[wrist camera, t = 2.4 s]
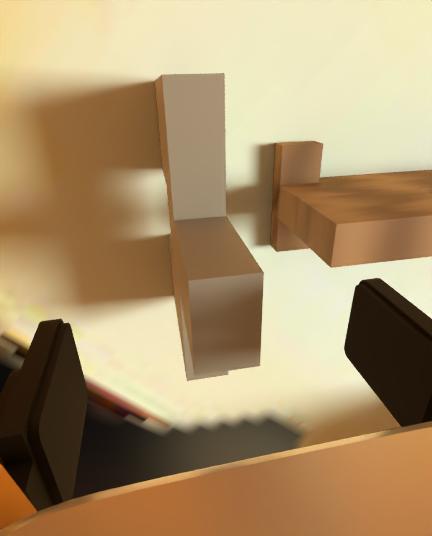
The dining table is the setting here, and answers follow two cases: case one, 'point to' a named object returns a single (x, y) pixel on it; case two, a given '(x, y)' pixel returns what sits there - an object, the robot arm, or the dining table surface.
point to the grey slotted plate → (206, 232)
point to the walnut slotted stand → (348, 210)
